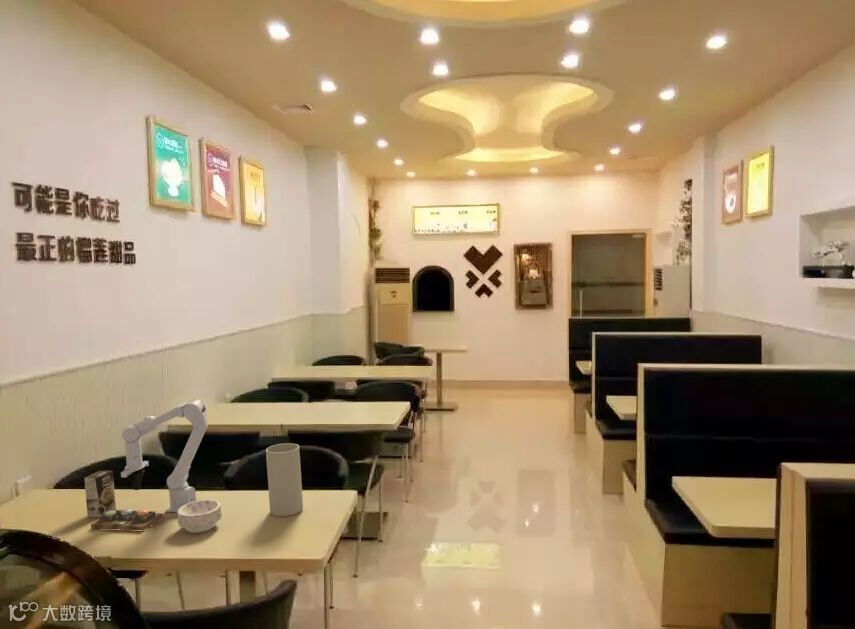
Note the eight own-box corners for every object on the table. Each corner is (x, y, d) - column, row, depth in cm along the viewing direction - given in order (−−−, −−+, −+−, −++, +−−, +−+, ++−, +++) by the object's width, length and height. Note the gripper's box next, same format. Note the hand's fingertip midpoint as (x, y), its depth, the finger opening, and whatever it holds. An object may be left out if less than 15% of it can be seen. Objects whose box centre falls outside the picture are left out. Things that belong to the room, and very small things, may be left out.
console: (163, 518, 250) (162, 508, 249) (143, 531, 238) (142, 520, 238) (112, 516, 254) (111, 506, 254) (91, 529, 242) (90, 518, 242)
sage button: (118, 514, 249) (118, 510, 249) (112, 518, 245) (111, 514, 245) (109, 514, 250) (109, 510, 249) (102, 518, 246) (102, 514, 245)
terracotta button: (151, 513, 246) (151, 509, 246) (144, 517, 242) (144, 513, 242) (142, 513, 247) (141, 508, 247) (135, 517, 243) (135, 512, 243)
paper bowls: (181, 540, 229) (179, 518, 228) (176, 525, 242) (174, 504, 242) (225, 530, 236) (224, 509, 235) (218, 516, 249) (217, 496, 248)
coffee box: (101, 518, 253) (97, 477, 252) (86, 517, 255) (83, 477, 253) (116, 509, 262) (113, 470, 261) (102, 508, 263) (99, 469, 262)
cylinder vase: (280, 520, 243) (275, 454, 241) (264, 511, 252) (260, 448, 250) (309, 510, 251) (305, 447, 249) (292, 502, 260) (288, 441, 258)
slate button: (135, 512, 247) (134, 508, 247) (128, 516, 243) (127, 512, 243) (125, 512, 248) (125, 508, 248) (118, 516, 244) (118, 512, 244)
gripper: (136, 450, 263) (139, 482, 264) (112, 461, 249) (115, 495, 250) (152, 450, 262) (154, 483, 263) (129, 461, 248) (132, 496, 249)
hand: (136, 489), depth 257 cm, fingers closed
